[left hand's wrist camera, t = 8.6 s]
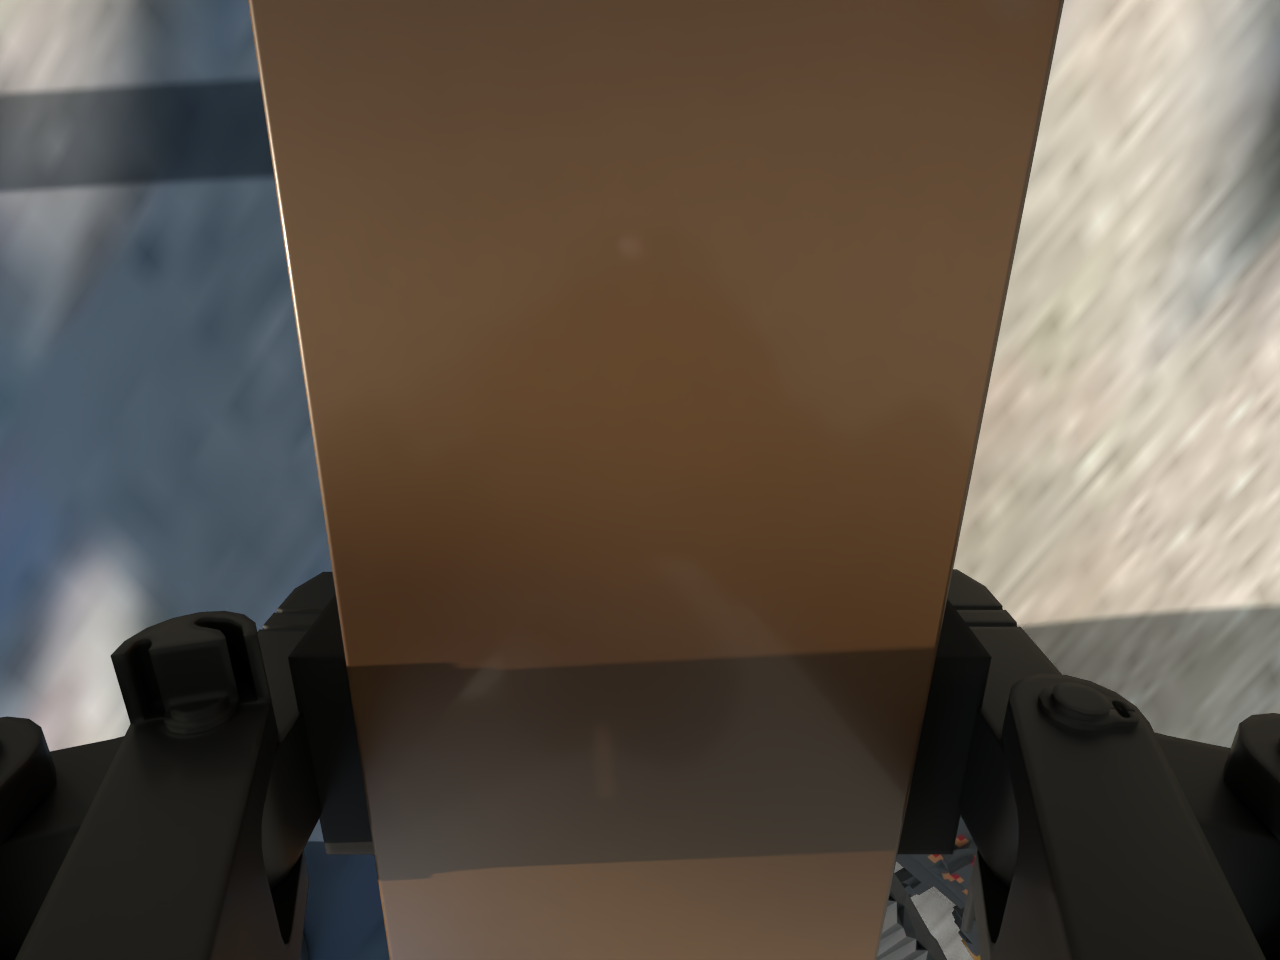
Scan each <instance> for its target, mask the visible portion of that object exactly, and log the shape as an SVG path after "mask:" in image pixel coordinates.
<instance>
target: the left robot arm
mask: <svg viewBox="0 0 1280 960" xmlns="http://www.w3.org/2000/svg"><path fill="white" fill-rule="evenodd" d="M111 659H112V662H113V665H114V669H115V672H116V676H117V679H118V682H119V686H120V689H121V692H122V696H123V699H124V703H125V706H126V709H127V713H128V716H129V719H130V723H131V724H130V726H129V728H128V731H127V733H126V735H125V736H123V737H119V738H115V739H111V740H106V741H101V742H96V743H91V744H86V745H81V746H76V747H71V748H66V749H61V750H56V751H51V752H50V751H49V749H48V746H47V743H46V740H45V737H44V734H43V731H42V729H41V727H40V726H39V725H37V724H36V723H34V722H33V721H31V720H30V719H25V718H15V717H1V718H0V960H308V950H307V945H306V941H305V938H304V936H303V928H304V920H305V912H306V904H307V895H308V887H309V878H308V871H307V865H306V860H305V855H304V851H303V849H304V847H305V845H306V843H307V841H308V839H309V837H310V835H311V833H312V831H313V829H314V828H315V826H316V824H317V822H318V820H319V818H320V823H321V828H322V833H323V838H324V843H325V849H326V854H374V849H373V842H372V835H371V829H370V822H369V815H368V808H367V802H366V795H365V788H364V781H363V775H362V768H361V761H360V754H359V747H358V741H357V734H356V727H355V720H354V714H353V707H352V700H351V693H350V686H349V680H348V673H347V666H346V659H345V653H344V646H343V639H342V632H341V626H340V619H339V612H338V605H337V598H336V592H335V585H334V578H333V572H322V573H321V574H319V575H317V576H316V577H314V578H312V579H311V580H309V581H307V582H306V583H304V584H302V585H300V586H299V587H297V588H295V589H294V590H293V592H292V593H291V594H290V595H289V596H288V597H287V598H286V600H285V601H284V602H283V603H282V604H281V605H280V607H279V608H278V612H277V613H274V614H273V615H272V616H271V617H270V618H269V619H268V620H267V622H266V623H265V624H264V625H263V630H259V631H258V632H257V629H256V624H255V622H254V621H252V620H251V619H250V618H248V617H247V616H245V615H244V614H238V613H233V612H228V611H214V612H199V613H194V614H190V615H185V616H180V617H176V618H172V619H169V620H167V621H164V622H161V623H159V624H156V625H154V626H151V627H148V628H146V629H144V630H143V631H141V632H139V633H138V634H136V635H134V636H132V637H131V638H129V639H127V640H126V641H124V642H123V643H122V644H121V645H120V646H119V647H118V649H117V650H116V651H115V652H114V653H113V654H112V655H111ZM960 815H961V817H962V819H963V821H964V823H965V825H966V827H967V829H968V831H969V832H970V834H971V836H972V838H973V840H974V842H975V844H976V846H977V851H976V855H975V860H974V865H973V870H972V874H971V879H970V884H969V888H968V893H967V898H966V903H965V907H964V912H963V918H962V924H961V931H964V932H968V933H971V931H972V927H973V922H974V917H975V918H976V926H977V935H978V943H979V951H980V959H981V960H1280V714H1276V713H1269V714H1260V715H1251V716H1250V717H1248V718H1247V719H1245V720H1244V721H1243V722H1241V723H1240V724H1239V726H1238V729H1237V732H1236V735H1235V738H1234V741H1233V744H1232V747H1231V748H1226V747H1221V746H1216V745H1211V744H1206V743H1201V742H1196V741H1191V740H1186V739H1181V738H1176V737H1171V736H1166V735H1162V734H1158V733H1155V732H1154V731H1153V729H1152V727H1151V725H1150V723H1149V722H1148V720H1147V719H1146V718H1145V717H1144V715H1143V714H1142V713H1141V712H1140V711H1139V709H1138V708H1137V707H1136V706H1135V705H1133V704H1132V703H1130V702H1129V701H1127V700H1126V699H1125V698H1123V697H1122V696H1120V695H1119V694H1117V693H1116V692H1114V691H1111V690H1109V689H1107V688H1105V687H1102V686H1100V685H1098V684H1096V683H1093V682H1091V681H1087V680H1083V679H1079V678H1075V677H1071V676H1067V675H1062V674H1061V673H1060V672H1059V671H1058V669H1057V668H1056V667H1055V666H1054V665H1053V664H1052V663H1051V661H1050V660H1049V659H1048V658H1047V657H1046V656H1045V655H1044V653H1043V652H1042V651H1041V650H1040V649H1039V648H1038V646H1037V645H1036V644H1035V643H1034V642H1033V641H1032V640H1031V638H1030V637H1029V636H1028V635H1027V634H1026V633H1025V632H1024V630H1023V629H1022V628H1021V627H1017V622H1016V621H1015V620H1014V619H1013V618H1012V617H1011V615H1010V614H1009V613H1008V612H1007V611H1006V610H1003V609H1002V605H1001V604H1000V603H999V602H998V600H997V599H996V598H995V597H994V596H993V595H992V594H991V592H990V591H989V590H988V589H987V588H986V587H985V586H984V585H982V584H980V583H979V582H977V581H975V580H974V579H972V578H970V577H969V576H967V575H965V574H964V573H962V572H960V571H959V570H957V569H953V571H952V577H951V582H950V587H949V592H948V597H947V602H946V607H945V612H944V618H943V623H942V628H941V633H940V638H939V643H938V648H937V653H936V659H935V664H934V669H933V674H932V679H931V684H930V689H929V694H928V699H927V705H926V710H925V715H924V720H923V725H922V730H921V735H920V740H919V746H918V751H917V756H916V761H915V766H914V771H913V776H912V781H911V787H910V792H909V797H908V802H907V807H906V812H905V817H904V822H903V828H902V833H901V838H900V843H899V848H898V853H897V854H953V851H954V846H955V841H956V836H957V831H958V826H959V820H960Z"/></svg>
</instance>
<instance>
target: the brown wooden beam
mask: <svg viewBox="0 0 1280 960" xmlns="http://www.w3.org/2000/svg"><path fill="white" fill-rule="evenodd" d="M248 2H249V9H250V16H251V23H252V29H253V36H254V43H255V50H256V56H257V63H258V70H259V77H260V84H261V90H262V97H263V104H264V111H265V117H266V124H267V131H268V138H269V145H270V151H271V158H272V165H273V172H274V178H275V185H276V192H277V199H278V206H279V212H280V219H281V226H282V233H283V239H284V246H285V253H286V260H287V266H288V273H289V280H290V287H291V294H292V300H293V307H294V314H295V321H296V327H297V334H298V341H299V348H300V355H301V361H302V368H303V375H304V382H305V388H306V395H307V402H308V409H309V416H310V422H311V429H312V436H313V443H314V449H315V456H316V463H317V470H318V476H319V483H320V490H321V497H322V504H323V510H324V517H325V524H326V531H327V537H328V544H329V551H330V558H331V565H332V571H333V578H334V585H335V592H336V598H337V605H338V612H339V619H340V626H341V632H342V639H343V646H344V653H345V659H346V666H347V673H348V680H349V686H350V693H351V700H352V707H353V714H354V720H355V727H356V734H357V741H358V747H359V754H360V761H361V768H362V775H363V781H364V788H365V795H366V802H367V808H368V815H369V822H370V829H371V835H372V842H373V849H374V856H375V863H376V869H377V876H378V883H379V890H380V896H381V903H382V910H383V917H384V924H385V930H386V937H387V944H388V951H389V957H390V960H877V956H878V950H879V945H880V940H881V935H882V930H883V925H884V920H885V915H886V909H887V904H888V899H889V894H890V889H891V884H892V879H893V874H894V868H895V863H896V858H897V853H898V848H899V843H900V838H901V833H902V828H903V822H904V817H905V812H906V807H907V802H908V797H909V792H910V787H911V781H912V776H913V771H914V766H915V761H916V756H917V751H918V746H919V740H920V735H921V730H922V725H923V720H924V715H925V710H926V705H927V699H928V694H929V689H930V684H931V679H932V674H933V669H934V664H935V659H936V653H937V648H938V643H939V638H940V633H941V628H942V623H943V618H944V612H945V607H946V602H947V597H948V592H949V587H950V582H951V577H952V571H953V566H954V561H955V556H956V551H957V546H958V541H959V536H960V530H961V525H962V520H963V515H964V510H965V505H966V500H967V495H968V490H969V484H970V479H971V474H972V469H973V464H974V459H975V454H976V449H977V443H978V438H979V433H980V428H981V423H982V418H983V413H984V408H985V402H986V397H987V392H988V387H989V382H990V377H991V372H992V367H993V361H994V356H995V351H996V346H997V341H998V336H999V331H1000V326H1001V321H1002V315H1003V310H1004V305H1005V300H1006V295H1007V290H1008V285H1009V280H1010V274H1011V269H1012V264H1013V259H1014V254H1015V249H1016V244H1017V239H1018V233H1019V228H1020V223H1021V218H1022V213H1023V208H1024V203H1025V198H1026V192H1027V187H1028V182H1029V177H1030V172H1031V167H1032V162H1033V157H1034V152H1035V146H1036V141H1037V136H1038V131H1039V126H1040V121H1041V116H1042V111H1043V105H1044V100H1045V95H1046V90H1047V85H1048V80H1049V75H1050V70H1051V64H1052V59H1053V54H1054V49H1055V44H1056V39H1057V34H1058V29H1059V24H1060V18H1061V13H1062V8H1063V3H1064V0H248Z"/></svg>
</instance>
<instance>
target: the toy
mask: <svg viewBox="0 0 1280 960" xmlns="http://www.w3.org/2000/svg"><path fill="white" fill-rule="evenodd" d="M976 851H977V846H976V844H975V842H974V840H973V838H972V836H971V834H970V832H969V831H968V829H967V827H966V825H965V823H964V821H963V819H962V817H961V815H960V820H959V826H958V831H957V836H956V841H955V846H954V851H953V854H897V858H896V861H897V862H898V863H899V864H900V865H902V866H903V867H904V868H902V869H901V870H899V871H897V872H896V873H894V874H893V879H892V884H891V889H890V894H889V899H888V904H887V909H886V915H885V920H884V925H883V930H882V935H881V940H880V945H879V950H878V956H877V960H947V959H946V957H945V955H944V953H943V951H942V949H941V947H940V945H939V943H938V941H937V940H936V939H935V938H934V937H933V936H932V935H931V933H930V932H929V930H928V928H927V927H926V925H925V923H924V921H923V920H922V918H921V916H920V914H919V913H918V911H917V909H916V907H915V906H914V904H913V902H912V900H911V898H910V897H912V896H914V895H916V894H918V895H920V894H922V893H923V892H925V891H926V890H928V889H930V888H931V887H933V886H934V887H936V888H937V889H938V890H939V891H940V892H941V893H943V894H944V895H945V896H946V897H947V898H948V899H950V900H951V901H952V902H953V903H954V904H955V905H956V906H954V907H953V908H954V909H955V910H954V911H953V912H952V914H953V916H954V918H955V921H954V922H955V923H956V924H957V926H958V927H959V929H960V931H959V932H958V933H959V934H960V936H961V937H962V939H963V940H962V942H963V944H964V945H965V947H966V948H967V950H968V952H969V953H970V955H971V956H972V958H973V959H974V960H981V959H980V951H979V943H978V935H977V926H976V918H975V917H974V922H973V927H972V931H971V933H968V932H964V931H961V924H962V918H963V912H964V907H965V903H966V898H967V893H968V888H969V884H970V879H971V874H972V870H973V865H974V860H975V855H976Z"/></svg>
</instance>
